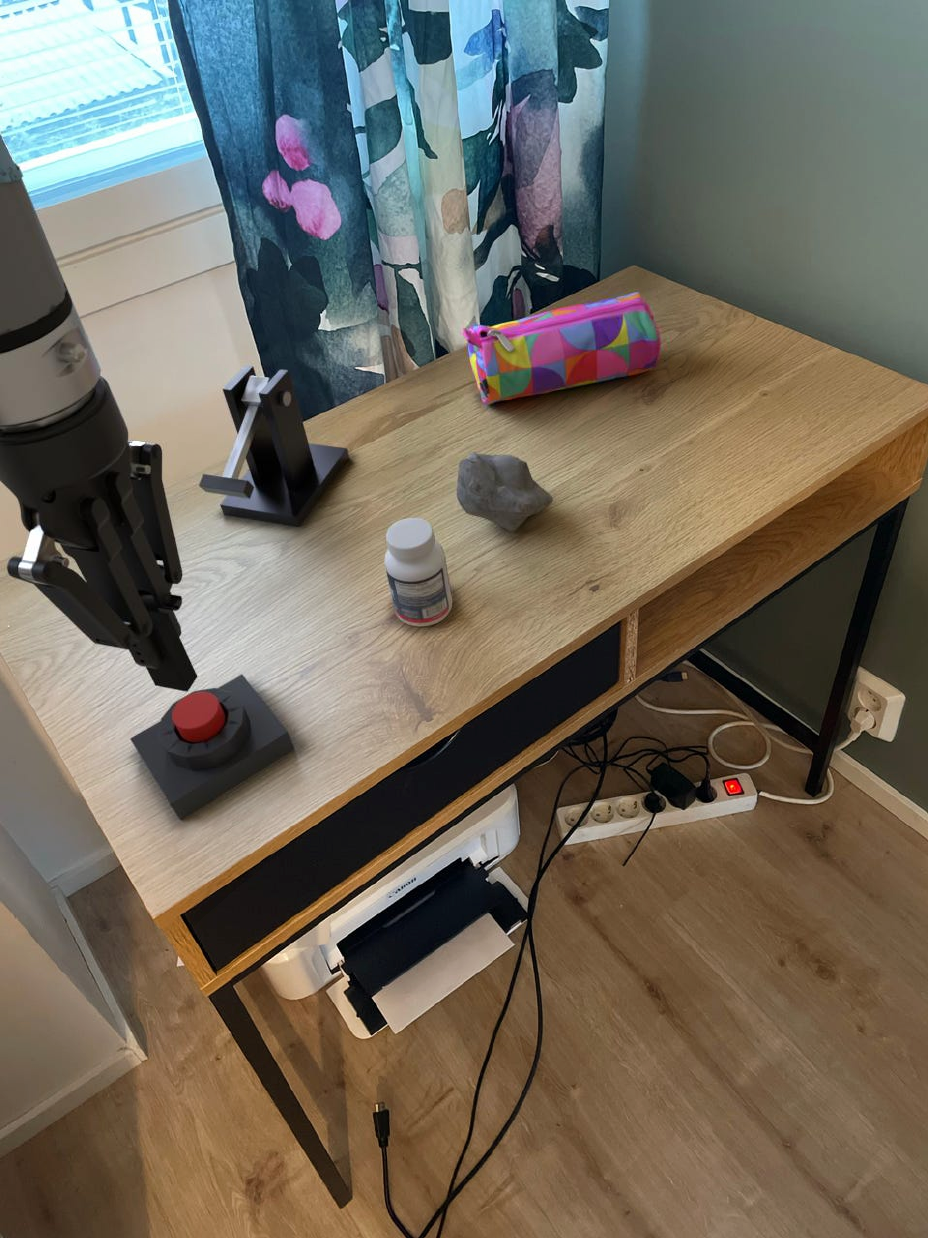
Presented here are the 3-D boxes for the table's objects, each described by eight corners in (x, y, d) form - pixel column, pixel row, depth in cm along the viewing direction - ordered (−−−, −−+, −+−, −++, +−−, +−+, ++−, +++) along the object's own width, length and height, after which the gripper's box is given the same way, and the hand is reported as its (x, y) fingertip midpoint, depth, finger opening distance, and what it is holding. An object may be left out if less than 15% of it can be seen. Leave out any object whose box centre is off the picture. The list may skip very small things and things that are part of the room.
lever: (252, 501, 85) (240, 490, 83) (208, 494, 87) (195, 483, 85) (292, 392, 89) (282, 378, 86) (249, 387, 90) (237, 373, 88)
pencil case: (480, 425, 100) (472, 351, 93) (461, 383, 106) (453, 311, 100) (666, 384, 102) (671, 310, 95) (636, 345, 108) (639, 273, 102)
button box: (180, 820, 67) (161, 791, 65) (139, 754, 72) (121, 724, 69) (295, 749, 71) (282, 717, 68) (249, 690, 76) (235, 659, 73)
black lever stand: (299, 527, 91) (266, 418, 81) (223, 514, 93) (183, 408, 84) (349, 457, 98) (324, 351, 89) (277, 448, 101) (246, 344, 92)
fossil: (577, 526, 86) (576, 457, 80) (504, 570, 83) (497, 502, 77) (505, 476, 93) (499, 409, 87) (435, 514, 90) (424, 448, 84)
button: (191, 751, 67) (183, 737, 66) (171, 722, 69) (164, 708, 68) (233, 725, 69) (227, 711, 67) (213, 698, 71) (206, 683, 69)
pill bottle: (403, 585, 83) (387, 510, 77) (458, 588, 82) (446, 512, 76) (388, 626, 79) (371, 551, 73) (446, 630, 78) (433, 554, 72)
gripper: (18, 475, 43) (175, 763, 60) (158, 340, 52) (262, 625, 68) (-104, 459, 45) (82, 742, 62) (50, 333, 54) (176, 611, 70)
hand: (176, 680), depth 65 cm, fingers closed
